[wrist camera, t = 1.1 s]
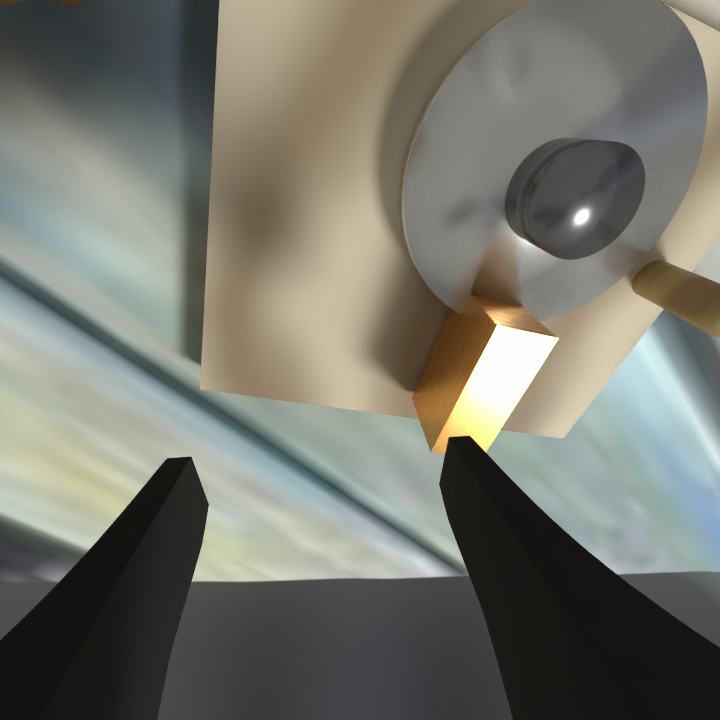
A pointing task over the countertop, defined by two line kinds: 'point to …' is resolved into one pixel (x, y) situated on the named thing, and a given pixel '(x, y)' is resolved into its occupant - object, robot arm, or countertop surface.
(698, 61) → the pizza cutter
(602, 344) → the board
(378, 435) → the countertop surface
